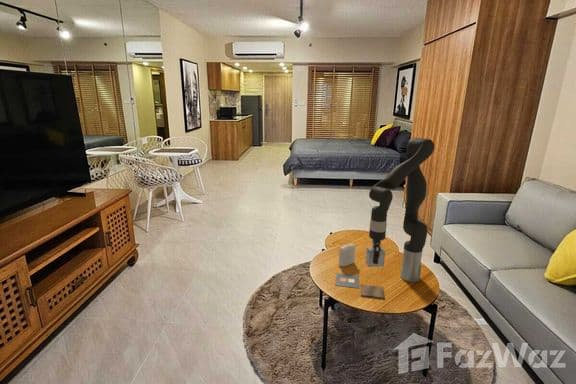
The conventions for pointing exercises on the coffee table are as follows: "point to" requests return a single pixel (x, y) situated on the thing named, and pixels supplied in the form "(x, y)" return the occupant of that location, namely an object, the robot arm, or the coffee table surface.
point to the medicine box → (370, 257)
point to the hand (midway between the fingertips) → (375, 260)
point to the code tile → (347, 280)
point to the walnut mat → (372, 291)
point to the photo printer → (346, 255)
